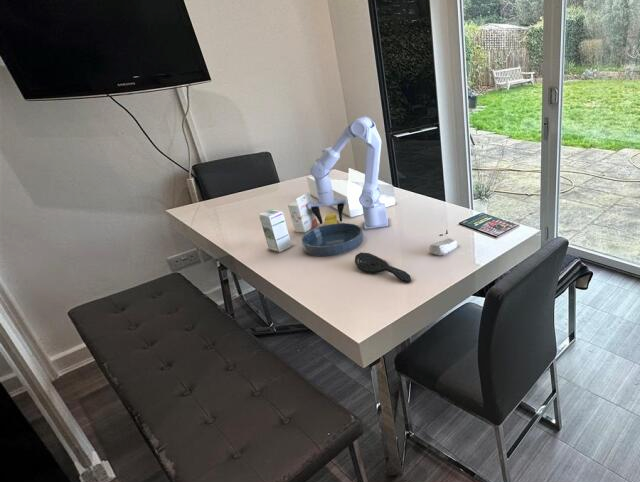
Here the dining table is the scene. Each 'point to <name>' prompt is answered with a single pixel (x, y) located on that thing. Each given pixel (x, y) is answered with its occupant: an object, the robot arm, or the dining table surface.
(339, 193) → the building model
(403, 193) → the dining table surface
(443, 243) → the soap bar
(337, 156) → the robot arm
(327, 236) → the bowl
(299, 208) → the ink cartridge box
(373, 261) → the hairbrush
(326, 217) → the sponge
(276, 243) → the syrup box
